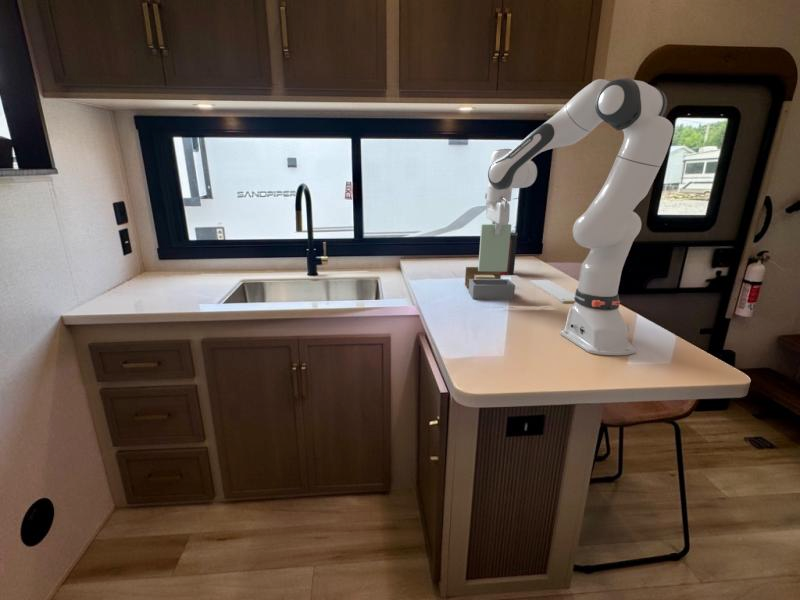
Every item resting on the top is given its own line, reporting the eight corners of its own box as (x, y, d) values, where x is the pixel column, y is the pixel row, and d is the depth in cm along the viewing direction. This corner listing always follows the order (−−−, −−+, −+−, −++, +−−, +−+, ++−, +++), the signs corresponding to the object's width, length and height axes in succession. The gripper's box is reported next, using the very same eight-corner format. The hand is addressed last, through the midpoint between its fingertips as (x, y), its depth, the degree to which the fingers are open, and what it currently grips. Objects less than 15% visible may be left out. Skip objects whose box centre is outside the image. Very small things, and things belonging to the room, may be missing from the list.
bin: (513, 302, 160) (515, 285, 158) (472, 302, 159) (473, 285, 157) (507, 295, 168) (508, 279, 166) (468, 295, 168) (469, 279, 166)
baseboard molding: (553, 282, 191) (529, 283, 189) (554, 276, 190) (529, 277, 189) (591, 303, 162) (562, 304, 160) (592, 296, 161) (563, 297, 159)
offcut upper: (494, 283, 169) (495, 276, 168) (475, 283, 168) (475, 276, 168) (492, 281, 172) (493, 274, 171) (473, 281, 172) (474, 274, 171)
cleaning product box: (478, 274, 202) (481, 233, 196) (480, 270, 210) (483, 231, 204) (513, 277, 198) (517, 235, 191) (513, 272, 206) (517, 232, 200)
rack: (505, 295, 169) (507, 272, 166) (468, 295, 169) (470, 272, 166) (498, 288, 179) (500, 266, 176) (464, 288, 178) (465, 266, 176)
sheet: (506, 271, 160) (511, 224, 154) (478, 271, 159) (482, 224, 154) (505, 270, 161) (510, 224, 156) (477, 270, 161) (481, 224, 155)
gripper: (515, 198, 142) (511, 238, 146) (500, 194, 161) (497, 229, 166) (497, 198, 142) (494, 238, 146) (484, 194, 161) (481, 229, 165)
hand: (495, 233), depth 156 cm, fingers closed on sheet, 2 cm apart
